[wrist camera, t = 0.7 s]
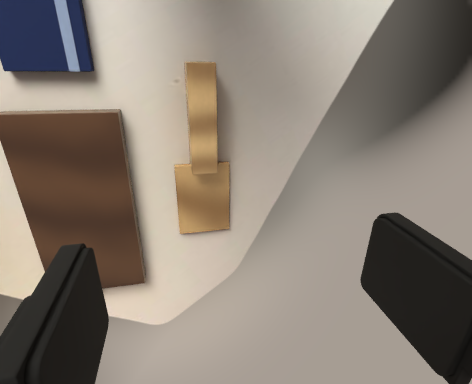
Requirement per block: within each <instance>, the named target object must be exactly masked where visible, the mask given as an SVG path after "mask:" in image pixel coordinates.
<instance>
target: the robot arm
mask: <svg viewBox="0 0 472 384" xmlns="http://www.w3.org/2000/svg"><path fill="white" fill-rule="evenodd" d="M361 285H362V287H363V289H364V290H365V291H366V293H367V294H368V295H369V296H370V297H371V298H372V299H373V301H374V302H375V303H376V304H377V305H378V306H379V308H380V309H381V310H382V311H383V312H384V313H385V314H386V316H387V317H388V318H389V319H390V320H391V321H392V323H393V324H394V325H395V326H396V327H397V328H398V329H399V331H400V332H401V333H402V334H403V335H404V336H405V338H406V339H407V340H408V341H409V342H410V343H411V345H412V346H413V347H414V348H415V349H416V350H417V352H418V353H419V354H420V355H421V356H422V357H423V358H424V360H425V361H426V362H427V363H428V364H429V365H430V367H431V368H432V369H433V370H434V371H435V372H436V373H437V374H438V375H440V376H443V378H444V379H445V380H446V381H447V382H448V383H449V384H469V382H470V380H471V378H472V260H470V259H469V258H467V257H466V256H464V255H463V254H461V253H459V252H458V251H457V250H455V249H453V248H452V247H450V246H449V245H447V244H445V243H444V242H443V241H441V240H440V239H438V238H436V237H435V236H433V235H431V234H430V233H428V232H427V231H426V230H424V229H422V228H421V227H419V226H418V225H416V224H415V223H413V222H412V221H410V220H409V219H407V218H405V217H404V216H402V215H401V214H399V213H387V214H381V215H379V216H378V217H377V219H375V221H374V223H373V227H372V232H371V236H370V240H369V245H368V249H367V253H366V257H365V262H364V266H363V271H362V275H361ZM108 322H109V319H108V312H107V308H106V303H105V299H104V294H103V290H102V285H101V281H100V276H99V272H98V268H97V263H96V259H95V254H94V250H93V248H87V247H86V245H85V244H84V243H81V244H71V245H63V246H61V247H60V249H59V250H58V252H57V254H56V255H55V257H54V259H53V260H52V262H51V264H50V265H49V267H48V269H47V270H46V272H45V274H44V275H43V277H42V278H41V280H40V282H39V283H38V285H37V287H36V288H35V290H34V292H33V293H32V295H31V296H28V297H26V298H25V299H24V300H23V302H22V303H21V304H20V306H19V307H18V309H17V311H16V312H15V314H14V316H13V317H12V319H11V320H10V322H9V323H8V325H7V327H6V328H5V330H4V331H3V333H2V335H1V336H0V384H95V380H96V376H97V372H98V367H99V363H100V359H101V355H102V351H103V347H104V342H105V338H106V334H107V330H108Z"/></svg>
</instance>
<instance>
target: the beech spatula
mask: <svg viewBox="0 0 472 384" xmlns="http://www.w3.org/2000/svg"><path fill="white" fill-rule="evenodd" d="M184 64H185V81H186V99H187V116H188V133H189V150H190V164H181V165H175V178H176V191H177V203H178V215H179V227H180V234H184V233H194V232H204V231H213V230H223V229H229V162H218V154H217V89H216V63H215V62H184Z"/></svg>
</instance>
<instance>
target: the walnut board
mask: <svg viewBox="0 0 472 384" xmlns="http://www.w3.org/2000/svg"><path fill="white" fill-rule="evenodd" d="M0 141H1V144H2V147H3V150H4V153H5V156H6V158H7V161H8V164H9V167H10V170H11V173H12V176H13V179H14V182H15V185H16V188H17V191H18V194H19V197H20V200H21V203H22V205H23V208H24V211H25V214H26V217H27V220H28V223H29V226H30V229H31V232H32V235H33V238H34V241H35V244H36V247H37V250H38V253H39V255H40V258H41V261H42V264H43V267H44V270H45V272H46V270H47V269H48V267H49V265H50V264H51V262H52V260H53V259H54V257H55V255H56V254H57V252H58V250H59V249H60V247H61V246H63V245H71V244H81V243H84V244H85V245H86V247H87V248H93V250H94V254H95V259H96V263H97V268H98V272H99V276H100V281H101V285H102V288H110V287H118V286H125V285H133V284H140V283H145V276H146V274H145V267H144V261H143V254H142V248H141V241H140V235H139V228H138V222H137V215H136V209H135V202H134V196H133V189H132V183H131V176H130V170H129V163H128V157H127V150H126V144H125V137H124V131H123V124H122V118H121V111H120V109H109V110H59V111H9V112H0Z"/></svg>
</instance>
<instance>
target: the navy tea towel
mask: <svg viewBox="0 0 472 384" xmlns="http://www.w3.org/2000/svg"><path fill="white" fill-rule="evenodd" d="M0 59H1V62H2V66H3V69H4V71H78V72H80V71H94V66H93V61H92V55H91V49H90V44H89V38H88V33H87V27H86V22H85V16H84V11H83V5H82V0H0Z"/></svg>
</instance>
